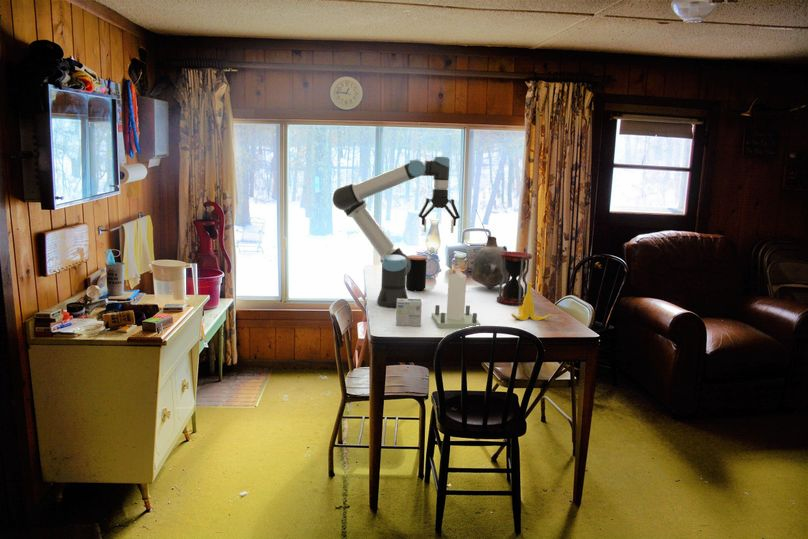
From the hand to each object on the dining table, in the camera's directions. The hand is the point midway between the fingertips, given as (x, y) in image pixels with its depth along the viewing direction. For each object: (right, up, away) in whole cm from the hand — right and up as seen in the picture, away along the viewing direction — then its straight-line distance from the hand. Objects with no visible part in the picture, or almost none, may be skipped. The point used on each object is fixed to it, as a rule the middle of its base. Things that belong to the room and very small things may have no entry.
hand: (438, 232), depth 314 cm
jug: (+31, -29, +44) cm, 61 cm away
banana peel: (+42, -41, -21) cm, 63 cm away
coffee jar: (-11, -29, +33) cm, 45 cm away
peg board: (+5, -42, -35) cm, 55 cm away
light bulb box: (-15, -42, -40) cm, 60 cm away
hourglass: (+38, -35, +11) cm, 53 cm away
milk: (+6, -40, -35) cm, 53 cm away
